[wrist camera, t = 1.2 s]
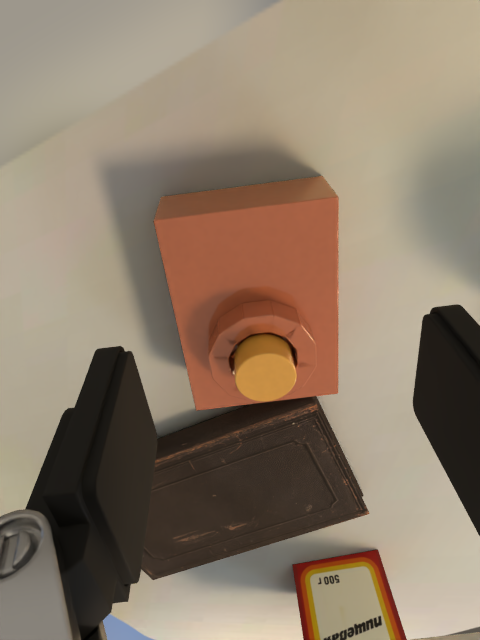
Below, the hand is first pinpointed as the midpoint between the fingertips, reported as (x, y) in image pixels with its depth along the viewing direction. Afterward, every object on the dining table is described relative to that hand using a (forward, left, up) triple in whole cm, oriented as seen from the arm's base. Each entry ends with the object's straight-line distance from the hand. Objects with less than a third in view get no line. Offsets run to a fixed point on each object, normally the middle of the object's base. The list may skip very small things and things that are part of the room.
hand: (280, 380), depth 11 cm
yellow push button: (+10, 0, -14) cm, 17 cm away
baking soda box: (+46, +6, -20) cm, 50 cm away
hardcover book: (+28, -5, -20) cm, 35 cm away
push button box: (+8, 0, -20) cm, 21 cm away
